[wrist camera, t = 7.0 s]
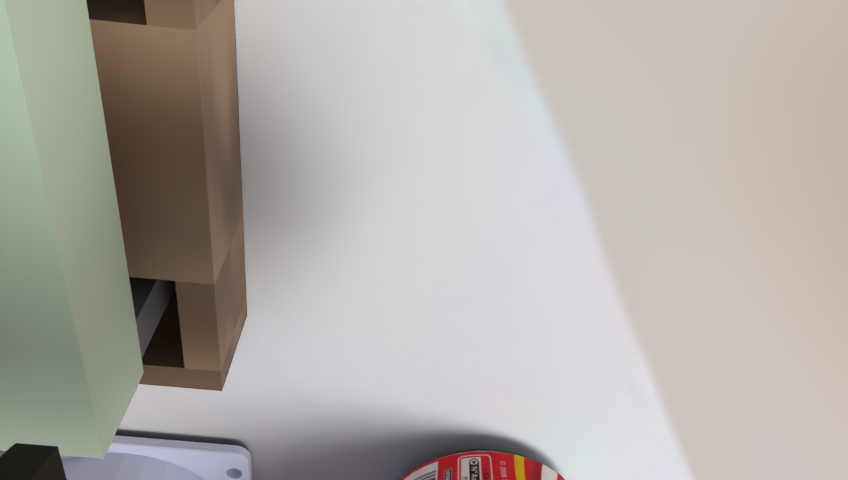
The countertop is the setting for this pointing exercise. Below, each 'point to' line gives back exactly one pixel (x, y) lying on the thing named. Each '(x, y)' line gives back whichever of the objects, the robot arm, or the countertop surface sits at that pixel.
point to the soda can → (483, 468)
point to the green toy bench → (63, 243)
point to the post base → (177, 173)
